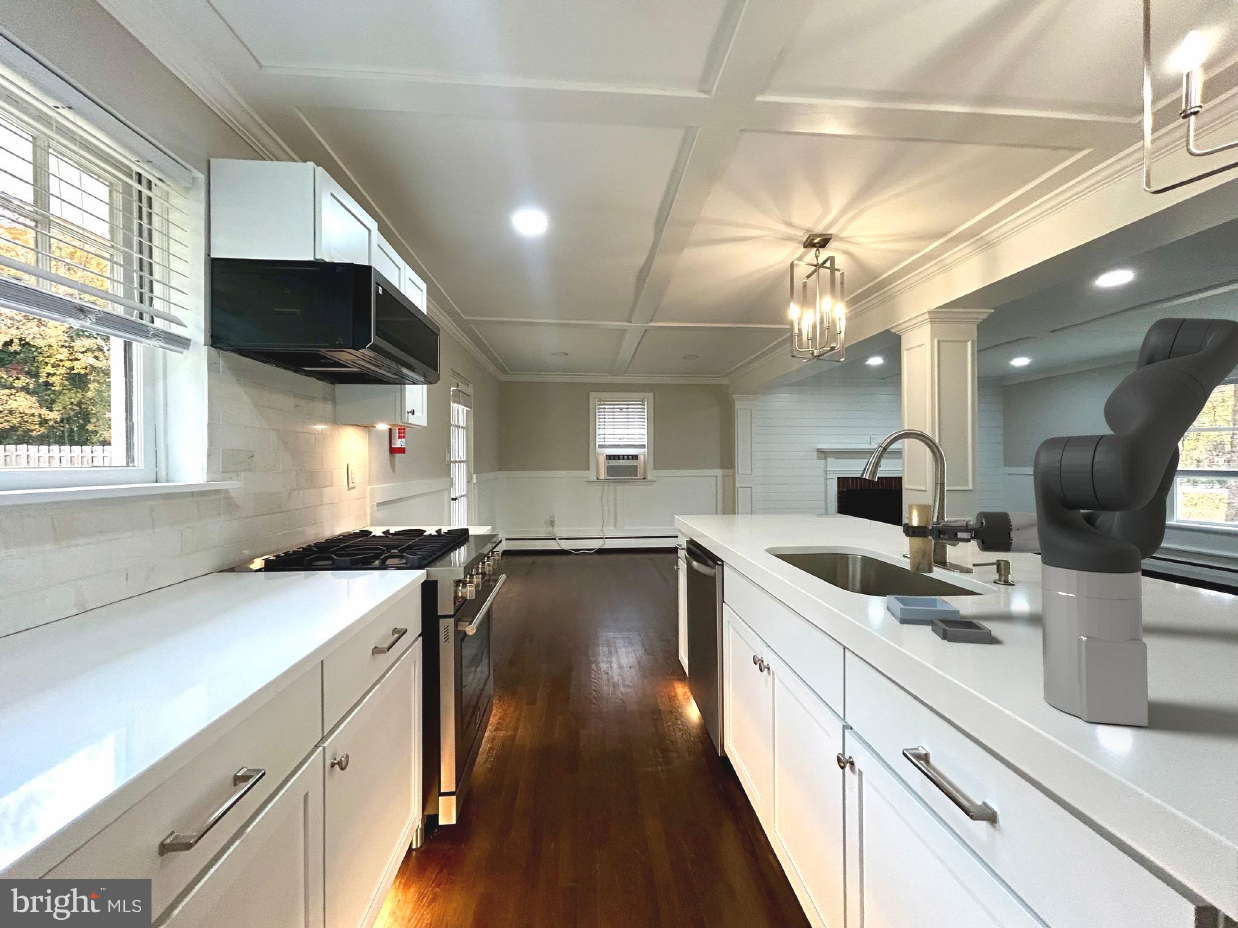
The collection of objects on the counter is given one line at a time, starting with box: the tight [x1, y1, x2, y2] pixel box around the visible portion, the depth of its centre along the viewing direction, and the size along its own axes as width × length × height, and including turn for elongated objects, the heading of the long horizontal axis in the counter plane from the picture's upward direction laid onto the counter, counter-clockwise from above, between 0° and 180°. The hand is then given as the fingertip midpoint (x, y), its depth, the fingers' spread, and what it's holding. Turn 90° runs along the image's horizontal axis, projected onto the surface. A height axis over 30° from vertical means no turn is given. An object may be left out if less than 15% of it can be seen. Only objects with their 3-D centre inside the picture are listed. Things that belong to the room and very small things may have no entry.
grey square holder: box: [930, 618, 992, 645], centre depth 93 cm, size 7×7×2 cm
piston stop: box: [907, 503, 935, 574], centre depth 104 cm, size 4×4×13 cm
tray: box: [886, 594, 961, 626], centre depth 104 cm, size 10×10×3 cm
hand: (904, 529), depth 106 cm, fingers closed on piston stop, 4 cm apart
